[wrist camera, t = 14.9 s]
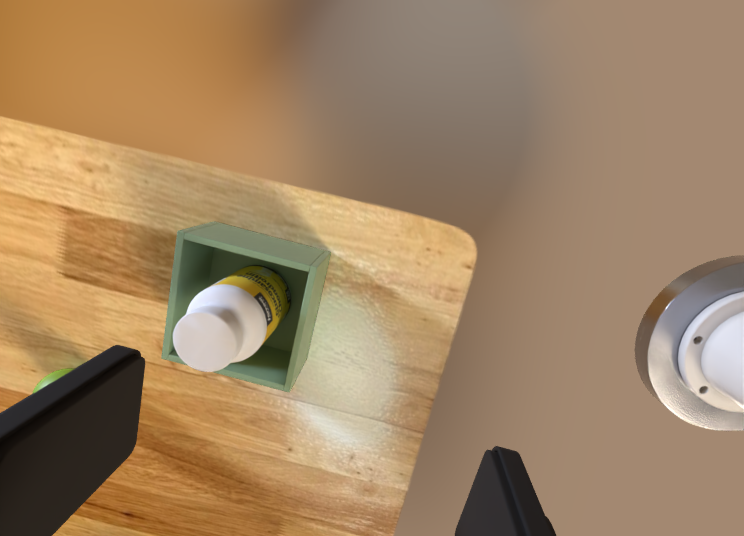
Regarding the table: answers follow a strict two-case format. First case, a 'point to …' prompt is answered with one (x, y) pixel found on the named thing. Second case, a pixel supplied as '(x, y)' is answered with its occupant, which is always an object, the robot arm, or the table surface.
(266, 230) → the table surface
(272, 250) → the tub
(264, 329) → the pill bottle
